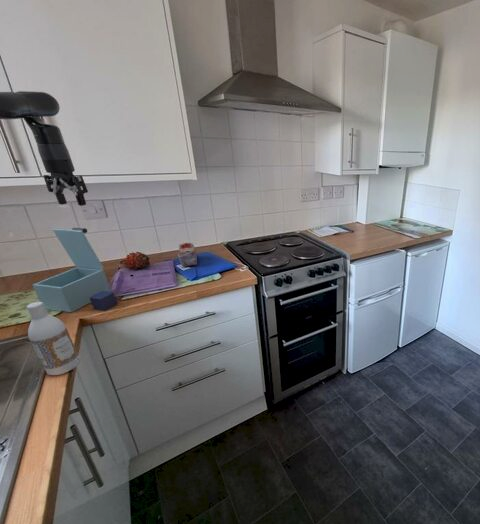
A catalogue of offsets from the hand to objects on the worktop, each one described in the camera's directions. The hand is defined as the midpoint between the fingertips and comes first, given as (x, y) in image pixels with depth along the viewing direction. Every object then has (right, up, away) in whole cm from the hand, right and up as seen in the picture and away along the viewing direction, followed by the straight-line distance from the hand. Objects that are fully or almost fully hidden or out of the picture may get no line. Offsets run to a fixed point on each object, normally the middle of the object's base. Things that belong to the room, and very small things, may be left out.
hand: (72, 204), depth 109 cm
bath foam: (+23, -50, -27) cm, 61 cm away
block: (+11, -37, +2) cm, 39 cm away
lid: (-2, -16, +4) cm, 17 cm away
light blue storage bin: (-3, -35, +6) cm, 36 cm away
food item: (+21, -21, +39) cm, 50 cm away
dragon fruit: (0, -24, +33) cm, 41 cm away
